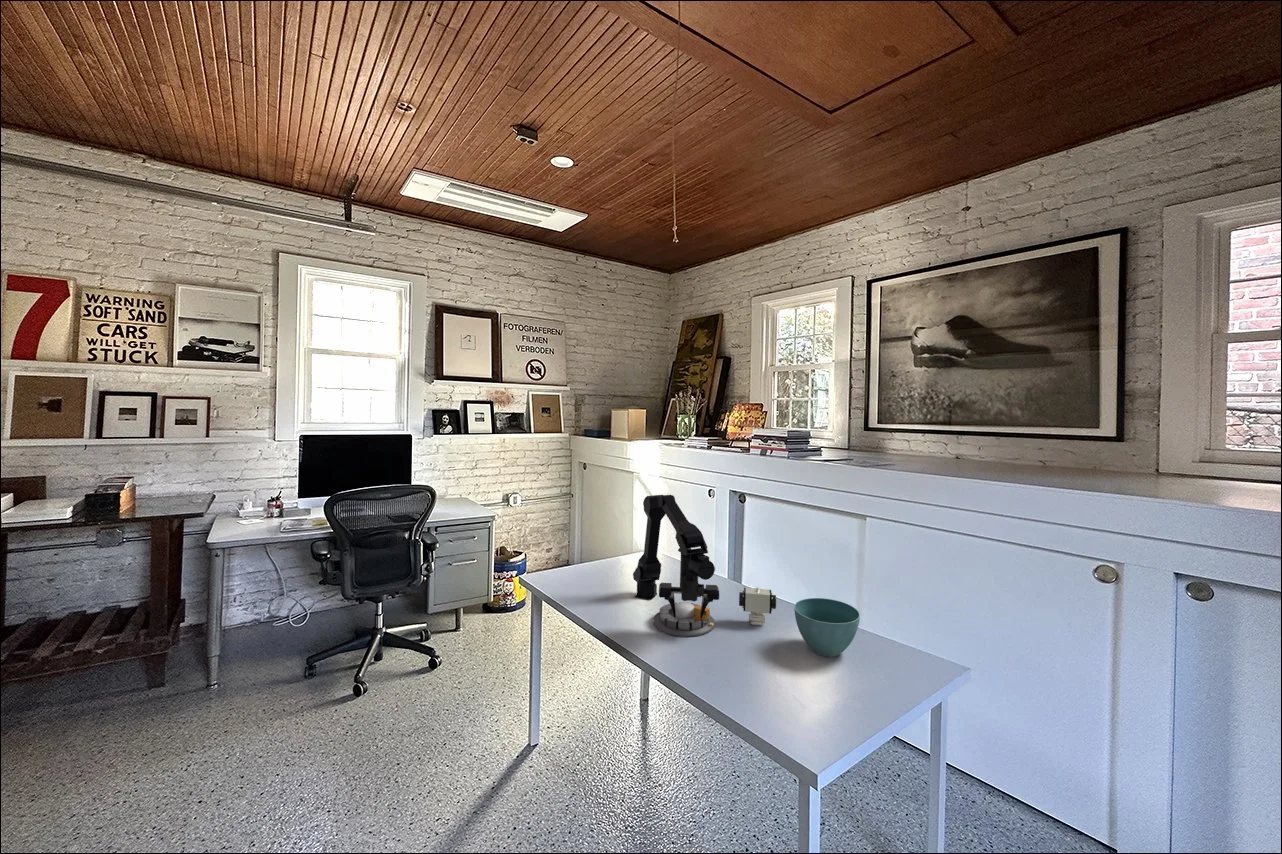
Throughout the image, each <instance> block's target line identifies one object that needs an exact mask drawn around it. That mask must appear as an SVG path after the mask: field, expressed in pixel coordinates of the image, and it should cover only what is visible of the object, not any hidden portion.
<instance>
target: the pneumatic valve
mask: <svg viewBox="0 0 1282 854" xmlns="http://www.w3.org/2000/svg"><path fill="white" fill-rule="evenodd" d="M738 602H739V603H738V606H740V607H741V608H742V609H743V612H747V613H748V612H749V614H748V622H750V623H749V624H750V625H752V626H758V627H759V626H760V627H761V626H764V624H765V623H766V615H765V614H769V615H770V614H772V611H773V610H777V595H776V594H773V592H772V589H765V588H760V587H754V588H752V587H743V590H742V591H741V592H740V591H739V596H738Z"/></svg>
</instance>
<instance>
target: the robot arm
mask: <svg viewBox="0 0 1282 854" xmlns="http://www.w3.org/2000/svg"><path fill="white" fill-rule="evenodd" d="M642 505H643V512H644V514H645V515H646V517H647V520H646V528H645V538H644V547H643V554H642V555H641V556H640V558H639V559H638V561H637V562H638V563H637V566H636V568H635V569H634V571H633V573H632V577H633V578H632V579H633V580H634V581H635V582H636V594H635V596H634V598H635V599H636V598H637V599H642V600H647V601H651V600H653V599H654V598H655V597H656V596H657V595H658V597H659V598H663V599H664V600H665V601H668V604H670V605H671V608H672V611H673V614H674V617H676V609H675V603H676V602H675V600H676V599H675V594H681V598H680V599H681V600H682V601H683V602H686V601H689V602H697V601H698V598H701V605H700V606H701V611H700V619H702V617H703V614H704V611H705V609H706V607H707V608H708V606H709V604H710V603H713V602H714V601H719V600H720V590H719V586H718V585H717V584H703V583H701V584H700V583H699V578H700V579H702V580H703V581H705V580H706V581H707V580H710V579H711V578H713V576H714V574H715V572H716V567H715V565H714V563H713V562H712V561H711V560H710V556H709V555H706V554H709V550H708V545H707V542H706V540H705V538H704V536H703V533H702V531H701V530H700V529H699V527H697V525H695V524H694V523H692V522H690V521H689V520H688V519H687V517H686V516H685V514H684V513H683V511H682V509H681V508H680V506H679V505H678V503H677V501H676V498H675V496H674V495H673V494H654V495H647V496H646V497H644V499H643V504H642ZM665 516H667V518H668V520H669V522H670V523H671V525H672V527H673V529H674V530H675V540H676V543H677V545H678V547H679V548H677V551H678V552H679V553H680V566H679V568H680V569H679V570H680V571H679V574H680V575H679V587H678V586H672V582H660V583H659V585H658V586H657V583H656V581H660V577H661V572H662V563H661V561H660V560H659V558H658V550H659V542H660V541H659V540H660V533H661V531H660V530H661V523H662V520H663V518H664V517H665ZM657 589H658V590H657ZM657 591H658V593H657Z"/></svg>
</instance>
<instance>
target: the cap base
mask: <svg viewBox="0 0 1282 854" xmlns="http://www.w3.org/2000/svg"><path fill="white" fill-rule="evenodd" d="M675 603H676V604H675V609H676V618H680V619H690V618H695V617H694V605H692V604H690V602H685V603H679V602H675ZM671 616H673V617H674V614H672V615H671ZM652 618H653V620H652V623H653V626H654V628H655V629H656V630H658V631H659V632H660V633H662V634H665V635H669V636H671V637H677V638H695V637H696V638H697V637H702V636H705V635H708V634H709V633H710V632H712V631H713V630H714V629H715V619H714V618H713V617H712V615H709V623H708V624H707V625H706V626H704V627H701V628H700V629H696V630H691V629H690V628H689V630H678V629H676V630H675V629H672V628H669V627H667V626H664V625H663V624H662V623H661V622H660V621H659V612H657V613H656V614H655V615H653V617H652Z"/></svg>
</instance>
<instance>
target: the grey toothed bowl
mask: <svg viewBox="0 0 1282 854" xmlns="http://www.w3.org/2000/svg"><path fill="white" fill-rule="evenodd" d="M676 603H677V602H675V604H676ZM678 603H686V601H683V602H678ZM689 603H690V602H689ZM690 604H692V605H694V617H695V618H690V619H680V618H676V617H673V616H671V615H672V614H673V611H672V608H671V605H670V603H667V604H665V605H663V606H661V607H660V608H659V612H658V613H659V621H660V622H661V623H662V624H663V625H664V626H667V627H669V628H672V629H675V630H676V629H678V630H689V628H690V629H691V630H696V629H700V628H701V627H704V626H706V625H707V624H708V623H709V615H710V610H711V609H710V608H709V607H708V606H707V607H706V609H705V611H704V614H703V617H702V619H700V611H701V605H700V604H696V603H692V602H691V603H690ZM710 616H711V615H710Z"/></svg>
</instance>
